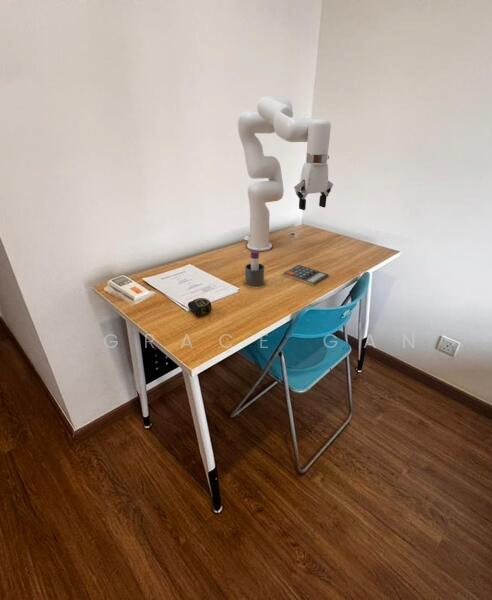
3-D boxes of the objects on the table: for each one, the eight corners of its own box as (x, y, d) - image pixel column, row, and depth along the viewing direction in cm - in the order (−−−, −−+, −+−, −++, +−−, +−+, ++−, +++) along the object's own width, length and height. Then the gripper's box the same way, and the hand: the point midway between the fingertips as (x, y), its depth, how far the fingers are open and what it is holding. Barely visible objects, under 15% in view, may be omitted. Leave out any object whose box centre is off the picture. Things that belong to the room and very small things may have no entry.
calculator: (298, 264, 143) (328, 273, 135) (298, 266, 143) (328, 275, 135) (283, 272, 135) (313, 283, 127) (283, 274, 135) (313, 285, 127)
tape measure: (187, 310, 109) (186, 300, 107) (206, 304, 112) (205, 295, 110) (195, 319, 104) (194, 309, 102) (215, 313, 107) (214, 303, 105)
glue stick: (249, 282, 126) (249, 251, 120) (253, 280, 128) (253, 249, 122) (255, 284, 125) (255, 253, 118) (260, 282, 127) (260, 251, 121)
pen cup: (241, 285, 126) (241, 267, 122) (252, 278, 131) (252, 261, 128) (257, 290, 123) (257, 272, 119) (267, 283, 128) (267, 265, 124)
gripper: (328, 157, 121) (323, 203, 129) (290, 159, 112) (288, 208, 121) (342, 159, 115) (336, 207, 124) (303, 161, 107) (299, 213, 115)
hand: (312, 208), depth 122 cm, fingers open, 9 cm apart
